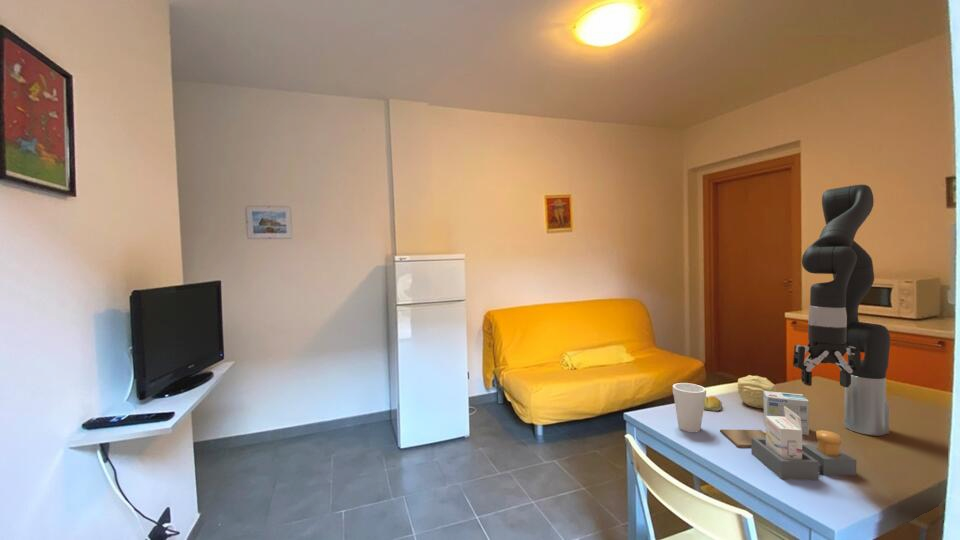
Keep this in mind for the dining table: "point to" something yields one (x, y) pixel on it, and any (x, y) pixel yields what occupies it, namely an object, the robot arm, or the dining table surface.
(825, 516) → the dining table surface
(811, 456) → the cartridge dock
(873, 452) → the dining table surface
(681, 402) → the foam cup
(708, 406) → the bread roll
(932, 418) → the dining table surface
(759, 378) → the sculpture
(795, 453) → the ink cartridge box
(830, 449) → the orange dome button
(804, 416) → the light bulb box
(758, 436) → the walnut pad
